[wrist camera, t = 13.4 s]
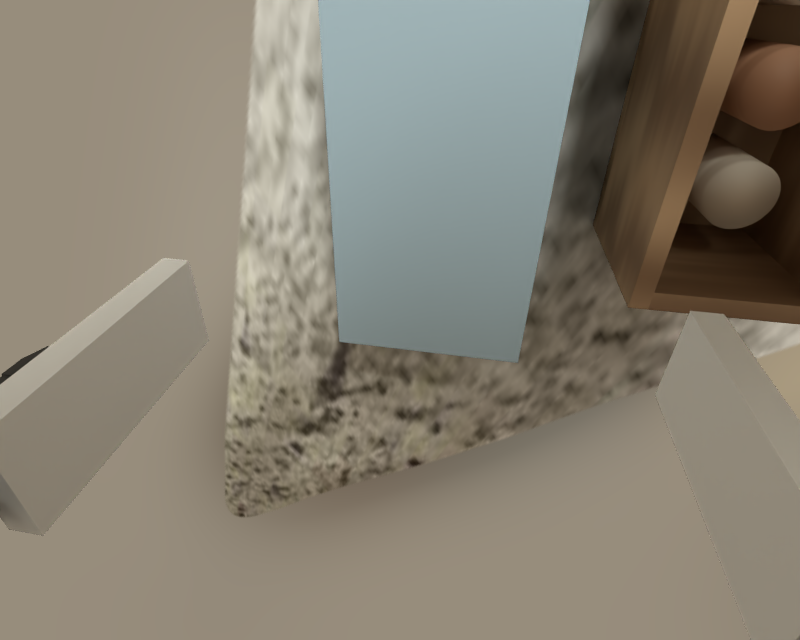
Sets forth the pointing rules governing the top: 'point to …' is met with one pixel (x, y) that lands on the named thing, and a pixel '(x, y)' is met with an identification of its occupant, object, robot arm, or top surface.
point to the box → (709, 163)
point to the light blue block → (443, 164)
